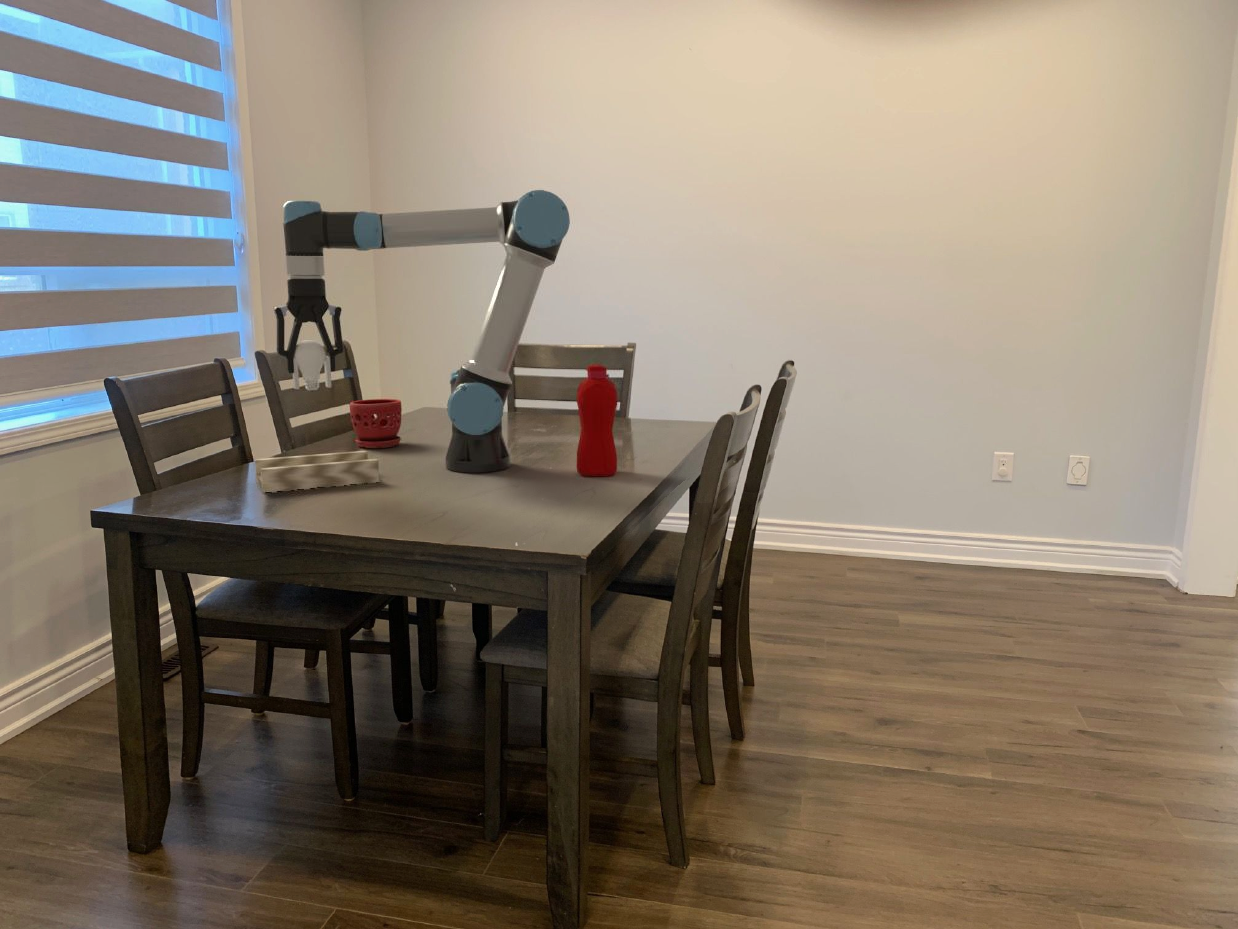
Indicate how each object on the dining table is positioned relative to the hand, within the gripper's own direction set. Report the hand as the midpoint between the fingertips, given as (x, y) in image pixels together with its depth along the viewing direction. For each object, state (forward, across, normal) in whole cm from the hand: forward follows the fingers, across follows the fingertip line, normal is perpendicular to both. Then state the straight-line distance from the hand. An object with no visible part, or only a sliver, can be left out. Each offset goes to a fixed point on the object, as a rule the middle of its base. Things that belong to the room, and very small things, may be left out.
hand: (312, 387), depth 203 cm
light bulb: (+1, 0, 0) cm, 1 cm away
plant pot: (+21, -22, -38) cm, 49 cm away
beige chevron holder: (+21, 0, 0) cm, 21 cm away
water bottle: (+21, -60, +18) cm, 66 cm away
